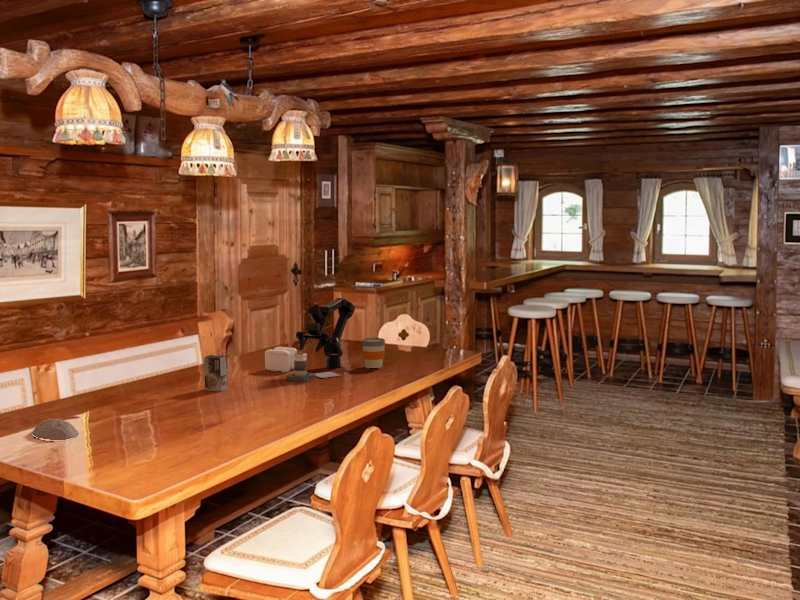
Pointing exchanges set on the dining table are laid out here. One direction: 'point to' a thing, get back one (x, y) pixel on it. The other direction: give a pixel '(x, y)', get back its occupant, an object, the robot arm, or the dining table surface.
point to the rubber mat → (326, 374)
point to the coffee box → (215, 373)
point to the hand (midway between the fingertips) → (308, 350)
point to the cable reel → (300, 364)
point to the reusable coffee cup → (373, 352)
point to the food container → (55, 430)
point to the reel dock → (300, 379)
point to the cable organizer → (280, 359)
